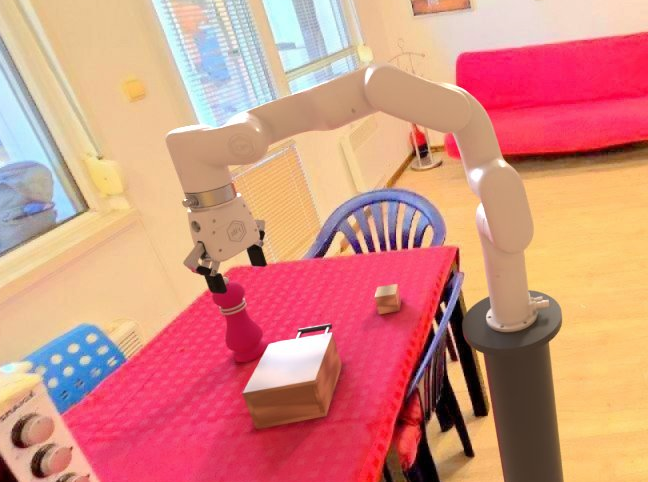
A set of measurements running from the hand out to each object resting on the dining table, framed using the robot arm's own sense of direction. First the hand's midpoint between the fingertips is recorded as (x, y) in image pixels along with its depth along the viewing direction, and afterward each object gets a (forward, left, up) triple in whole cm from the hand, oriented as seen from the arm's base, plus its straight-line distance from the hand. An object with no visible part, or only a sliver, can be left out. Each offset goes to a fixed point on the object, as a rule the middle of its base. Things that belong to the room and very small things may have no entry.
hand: (240, 278), depth 99 cm
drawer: (-6, -1, -25) cm, 25 cm away
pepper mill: (+10, -13, -26) cm, 31 cm away
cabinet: (-6, +5, -26) cm, 27 cm away
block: (-20, -23, -26) cm, 40 cm away
